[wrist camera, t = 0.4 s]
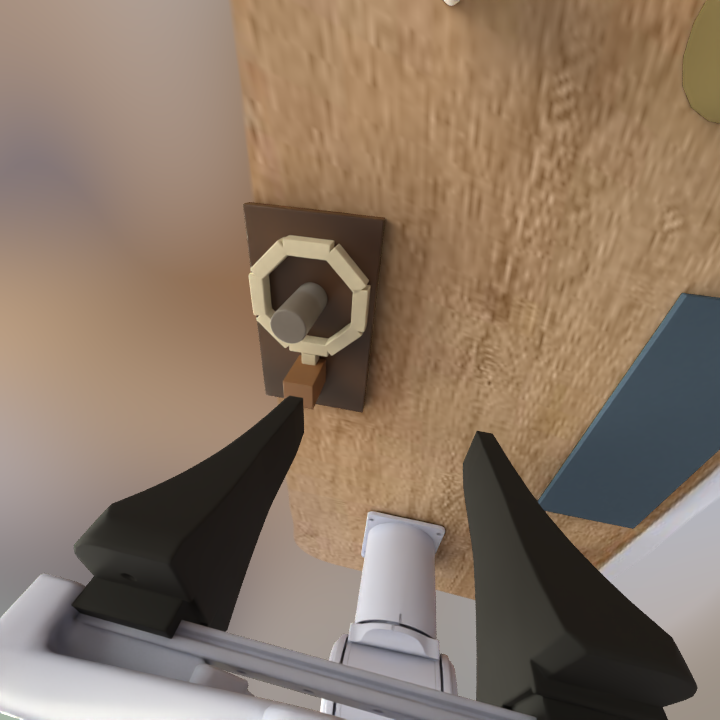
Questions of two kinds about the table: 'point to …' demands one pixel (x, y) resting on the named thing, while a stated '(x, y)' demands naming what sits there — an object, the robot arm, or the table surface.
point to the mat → (649, 424)
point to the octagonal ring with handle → (308, 367)
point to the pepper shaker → (704, 63)
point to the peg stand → (316, 295)
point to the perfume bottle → (451, 2)
